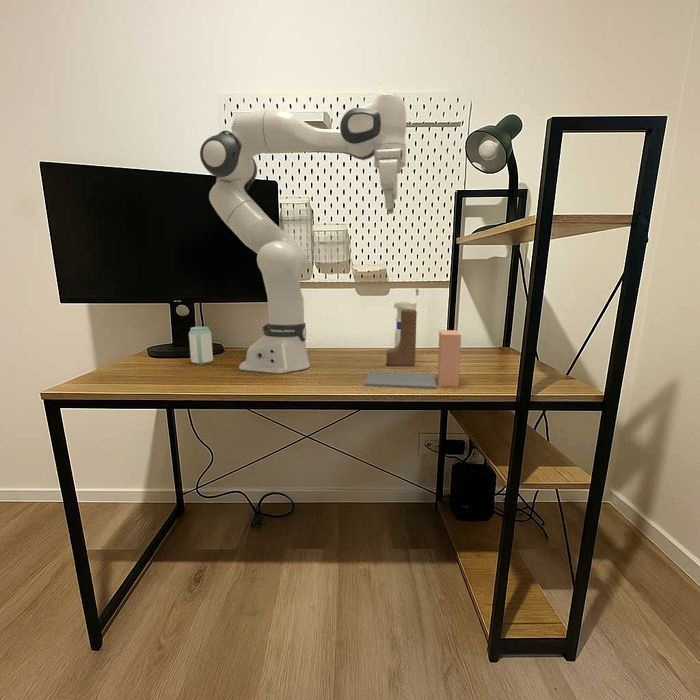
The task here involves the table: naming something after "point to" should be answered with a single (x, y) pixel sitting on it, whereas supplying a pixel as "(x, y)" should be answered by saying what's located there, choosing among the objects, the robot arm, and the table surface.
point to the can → (200, 345)
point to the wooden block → (405, 341)
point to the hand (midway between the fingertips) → (389, 211)
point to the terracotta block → (449, 357)
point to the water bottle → (400, 307)
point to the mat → (400, 379)
